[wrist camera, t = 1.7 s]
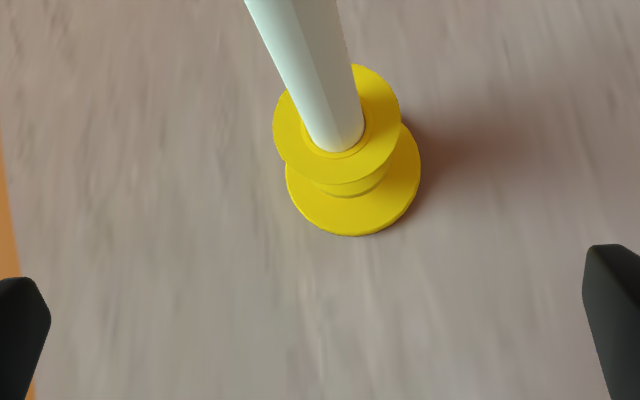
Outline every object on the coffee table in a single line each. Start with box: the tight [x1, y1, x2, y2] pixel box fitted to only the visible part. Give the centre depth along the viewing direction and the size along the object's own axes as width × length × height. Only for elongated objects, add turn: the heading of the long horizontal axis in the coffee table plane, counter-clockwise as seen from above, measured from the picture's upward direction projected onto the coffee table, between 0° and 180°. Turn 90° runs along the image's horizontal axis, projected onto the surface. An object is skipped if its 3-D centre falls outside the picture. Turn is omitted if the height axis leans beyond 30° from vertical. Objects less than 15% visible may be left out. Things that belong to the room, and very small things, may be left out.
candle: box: [244, 0, 421, 237], centre depth 15 cm, size 5×5×16 cm
